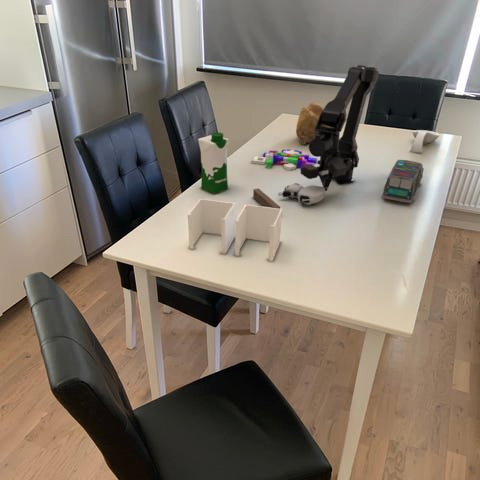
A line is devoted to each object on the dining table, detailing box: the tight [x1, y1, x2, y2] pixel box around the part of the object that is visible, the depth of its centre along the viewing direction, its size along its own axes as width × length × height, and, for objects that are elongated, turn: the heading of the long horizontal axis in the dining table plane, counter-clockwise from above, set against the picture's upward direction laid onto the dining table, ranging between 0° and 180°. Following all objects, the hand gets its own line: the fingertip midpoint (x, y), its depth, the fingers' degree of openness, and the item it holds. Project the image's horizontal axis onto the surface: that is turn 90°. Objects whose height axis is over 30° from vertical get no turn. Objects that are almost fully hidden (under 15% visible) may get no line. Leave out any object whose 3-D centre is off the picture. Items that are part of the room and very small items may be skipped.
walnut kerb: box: [252, 188, 281, 209], centre depth 163 cm, size 2×16×3 cm, turn 24°
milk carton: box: [197, 131, 230, 195], centre depth 169 cm, size 9×9×20 cm
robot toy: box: [278, 182, 330, 206], centre depth 168 cm, size 12×4×15 cm
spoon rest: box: [409, 129, 440, 154], centre depth 213 cm, size 24×12×7 cm, turn 152°
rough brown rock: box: [295, 102, 330, 145], centre depth 213 cm, size 23×17×15 cm
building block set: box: [251, 148, 318, 171], centre depth 197 cm, size 25×20×4 cm
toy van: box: [381, 159, 425, 204], centre depth 172 cm, size 11×25×10 cm, turn 155°
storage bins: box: [187, 198, 283, 262], centre depth 140 cm, size 25×11×11 cm, turn 75°
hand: (325, 190), depth 171 cm, fingers closed
